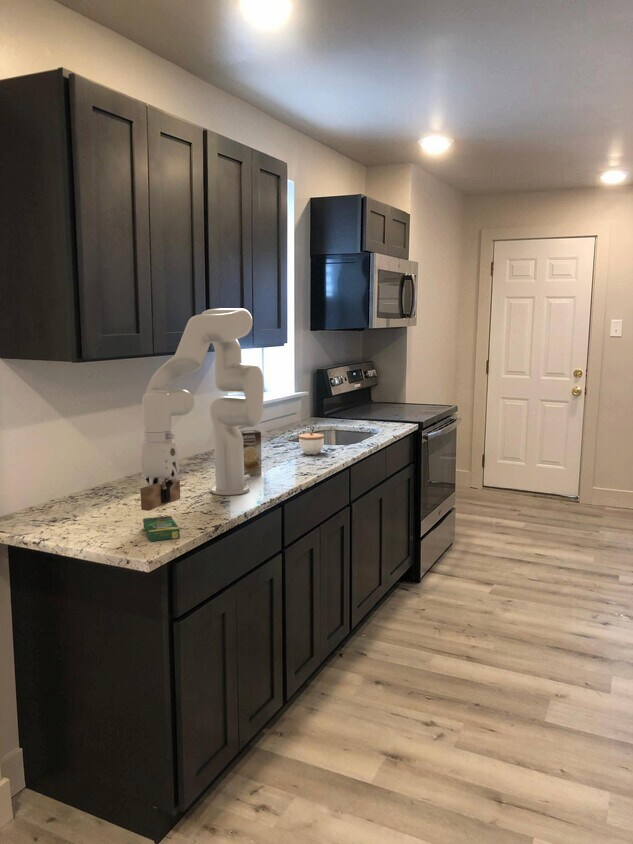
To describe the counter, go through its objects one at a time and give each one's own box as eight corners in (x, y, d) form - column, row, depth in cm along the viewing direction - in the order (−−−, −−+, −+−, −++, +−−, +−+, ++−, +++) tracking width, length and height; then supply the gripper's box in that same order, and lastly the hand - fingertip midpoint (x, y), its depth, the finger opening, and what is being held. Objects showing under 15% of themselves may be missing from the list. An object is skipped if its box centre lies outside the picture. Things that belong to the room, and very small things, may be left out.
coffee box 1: (172, 514, 189) (179, 528, 177) (173, 524, 189) (180, 538, 177) (143, 517, 186) (148, 531, 174) (143, 527, 186) (148, 542, 174)
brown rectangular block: (173, 497, 197) (172, 477, 196) (180, 498, 196) (179, 478, 195) (141, 509, 185) (140, 488, 184) (148, 510, 184) (147, 489, 183)
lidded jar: (315, 456, 281) (315, 434, 280) (294, 454, 287) (293, 432, 286) (328, 452, 290) (328, 430, 289) (307, 449, 296) (307, 428, 295)
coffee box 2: (237, 477, 246) (236, 433, 244) (233, 473, 252) (232, 430, 250) (262, 474, 249) (261, 431, 247) (257, 471, 255) (256, 429, 253)
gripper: (190, 436, 187) (192, 501, 190) (144, 433, 194) (147, 495, 197) (173, 441, 181) (176, 508, 183) (126, 437, 188) (129, 501, 191)
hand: (161, 500), depth 190 cm, fingers closed on brown rectangular block, 2 cm apart
